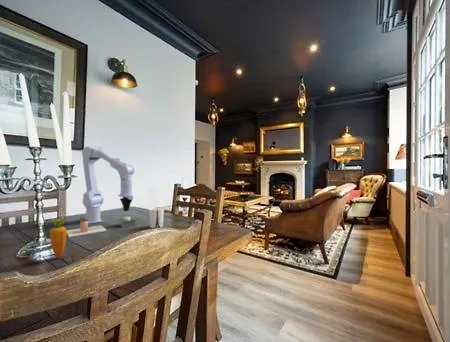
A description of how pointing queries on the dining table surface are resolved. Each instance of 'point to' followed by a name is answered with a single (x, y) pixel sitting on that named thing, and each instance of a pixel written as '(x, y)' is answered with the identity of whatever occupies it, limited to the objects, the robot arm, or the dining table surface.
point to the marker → (84, 224)
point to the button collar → (126, 223)
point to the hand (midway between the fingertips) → (126, 210)
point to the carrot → (58, 237)
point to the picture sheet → (90, 230)
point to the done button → (126, 218)
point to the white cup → (154, 216)
